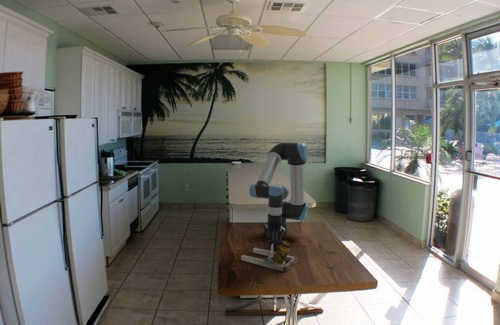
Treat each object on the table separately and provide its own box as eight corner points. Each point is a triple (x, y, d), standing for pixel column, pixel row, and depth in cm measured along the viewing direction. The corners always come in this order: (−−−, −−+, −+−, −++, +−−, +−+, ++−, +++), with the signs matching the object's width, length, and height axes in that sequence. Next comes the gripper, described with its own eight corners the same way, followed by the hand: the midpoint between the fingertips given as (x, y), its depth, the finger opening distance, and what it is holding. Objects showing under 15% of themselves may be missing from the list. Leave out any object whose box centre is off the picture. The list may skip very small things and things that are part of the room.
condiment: (280, 267, 168) (289, 248, 165) (267, 258, 172) (275, 240, 168) (285, 262, 175) (293, 244, 172) (272, 254, 178) (280, 236, 175)
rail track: (254, 251, 189) (255, 246, 189) (297, 261, 176) (297, 256, 175) (241, 260, 176) (241, 254, 176) (285, 272, 163) (285, 265, 162)
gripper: (261, 213, 172) (259, 255, 174) (282, 217, 165) (280, 261, 167) (267, 210, 178) (265, 251, 180) (288, 214, 171) (286, 257, 174)
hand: (272, 256), depth 174 cm, fingers closed
